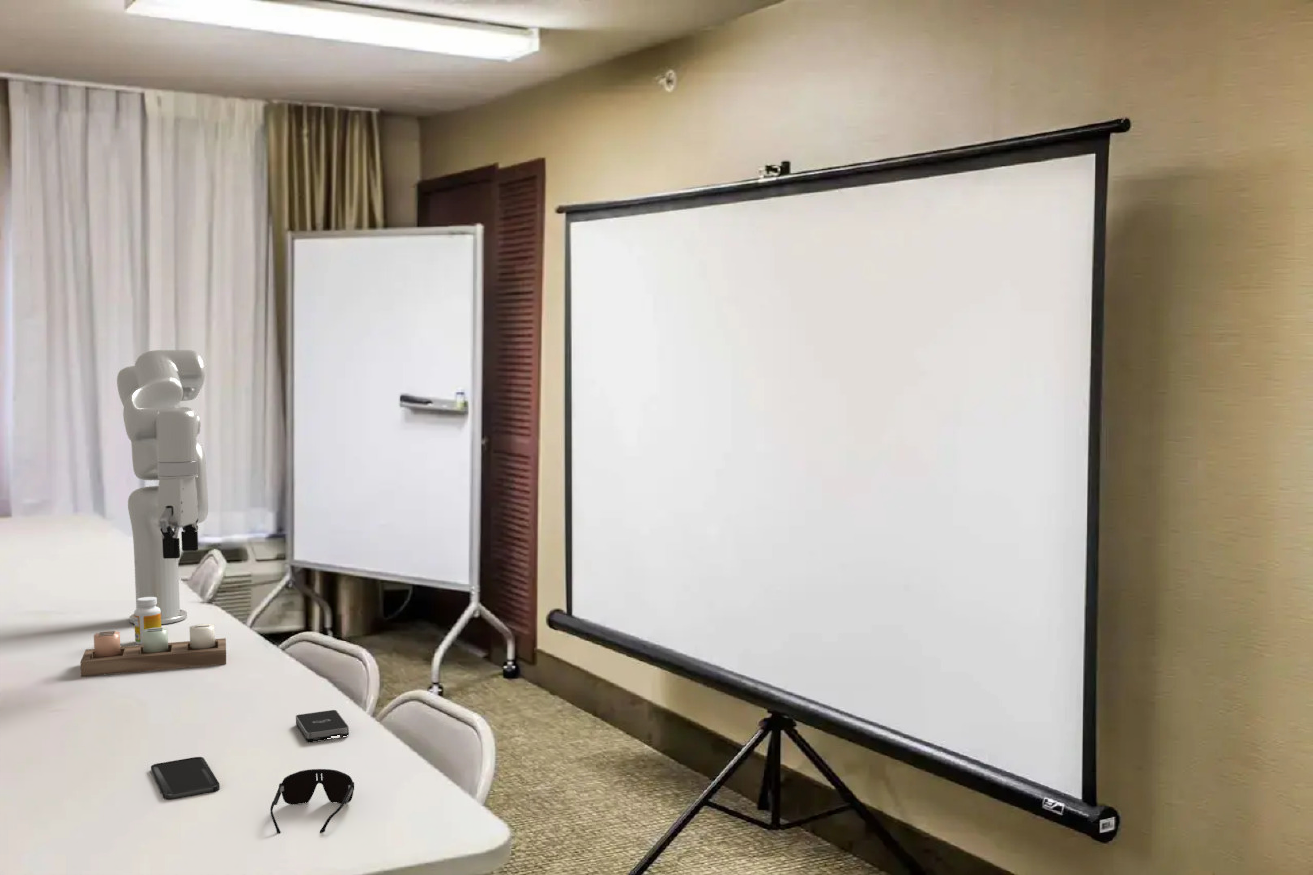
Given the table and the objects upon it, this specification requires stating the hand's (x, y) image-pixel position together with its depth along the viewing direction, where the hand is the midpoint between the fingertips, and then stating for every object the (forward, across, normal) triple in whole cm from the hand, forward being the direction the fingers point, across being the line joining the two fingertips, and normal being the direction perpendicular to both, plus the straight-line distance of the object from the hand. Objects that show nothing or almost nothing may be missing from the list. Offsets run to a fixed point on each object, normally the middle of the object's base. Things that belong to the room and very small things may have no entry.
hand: (181, 554), depth 250 cm
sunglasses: (+25, +80, +48) cm, 96 cm away
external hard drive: (+25, +42, +39) cm, 63 cm away
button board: (+22, 0, -6) cm, 23 cm away
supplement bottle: (+22, -18, -15) cm, 33 cm away
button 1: (+20, -3, +2) cm, 20 cm away
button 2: (+20, 0, -6) cm, 20 cm away
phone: (+25, +65, +25) cm, 74 cm away
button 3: (+20, +3, -14) cm, 24 cm away
